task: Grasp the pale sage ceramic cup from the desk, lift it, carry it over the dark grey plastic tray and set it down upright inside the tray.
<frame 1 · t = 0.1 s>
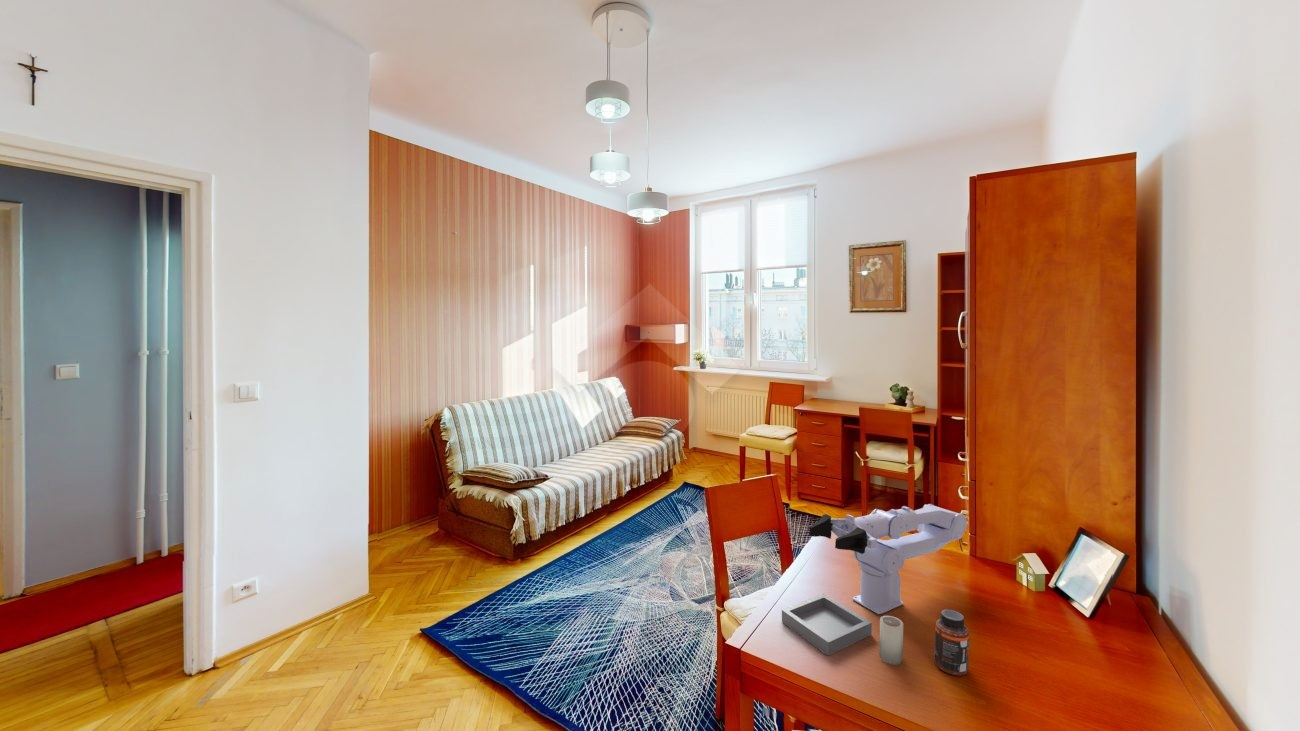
hand: (823, 537, 114), 22 cm above the table, tool horizontal, fingers open, 7 cm apart
supplement bottle: (950, 668, 102), on the table
cup: (890, 657, 105), on the table
tray: (825, 628, 115), on the table
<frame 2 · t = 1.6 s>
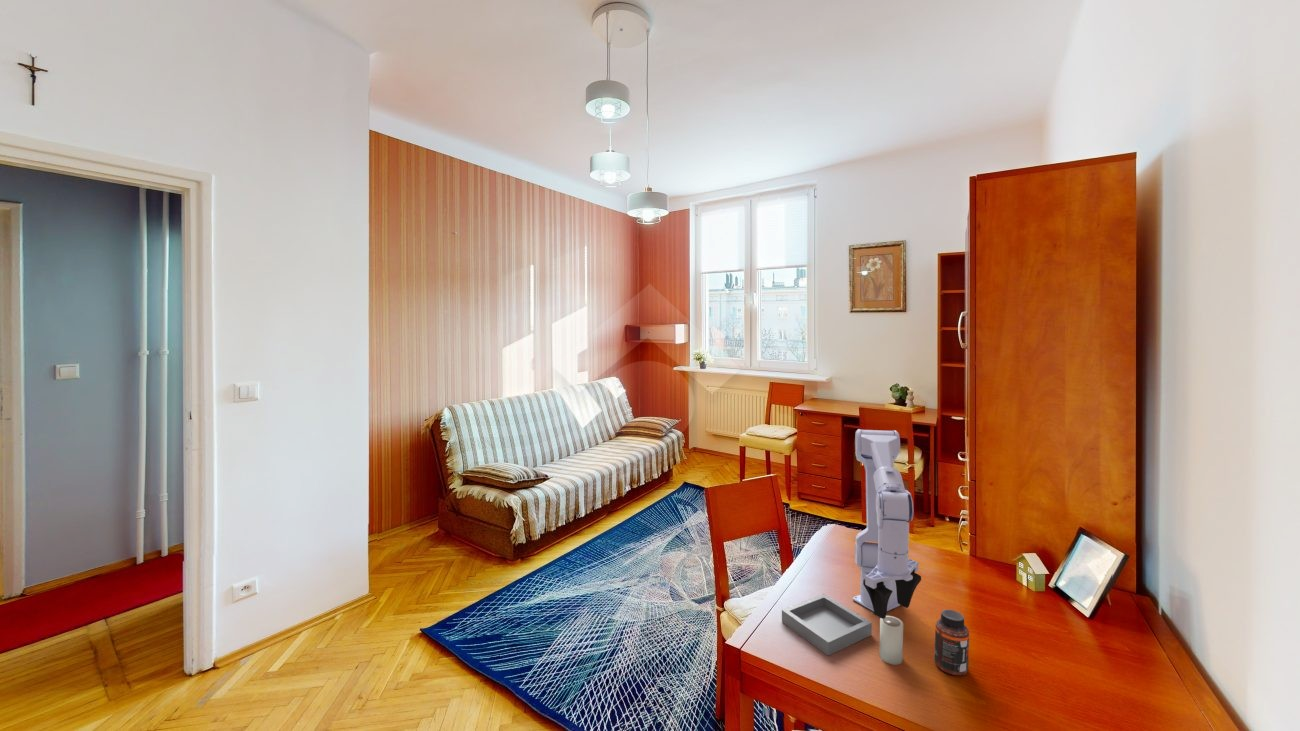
hand: (891, 610, 104), 10 cm above the table, tool pointing down, fingers open, 7 cm apart
nothing on the table moved.
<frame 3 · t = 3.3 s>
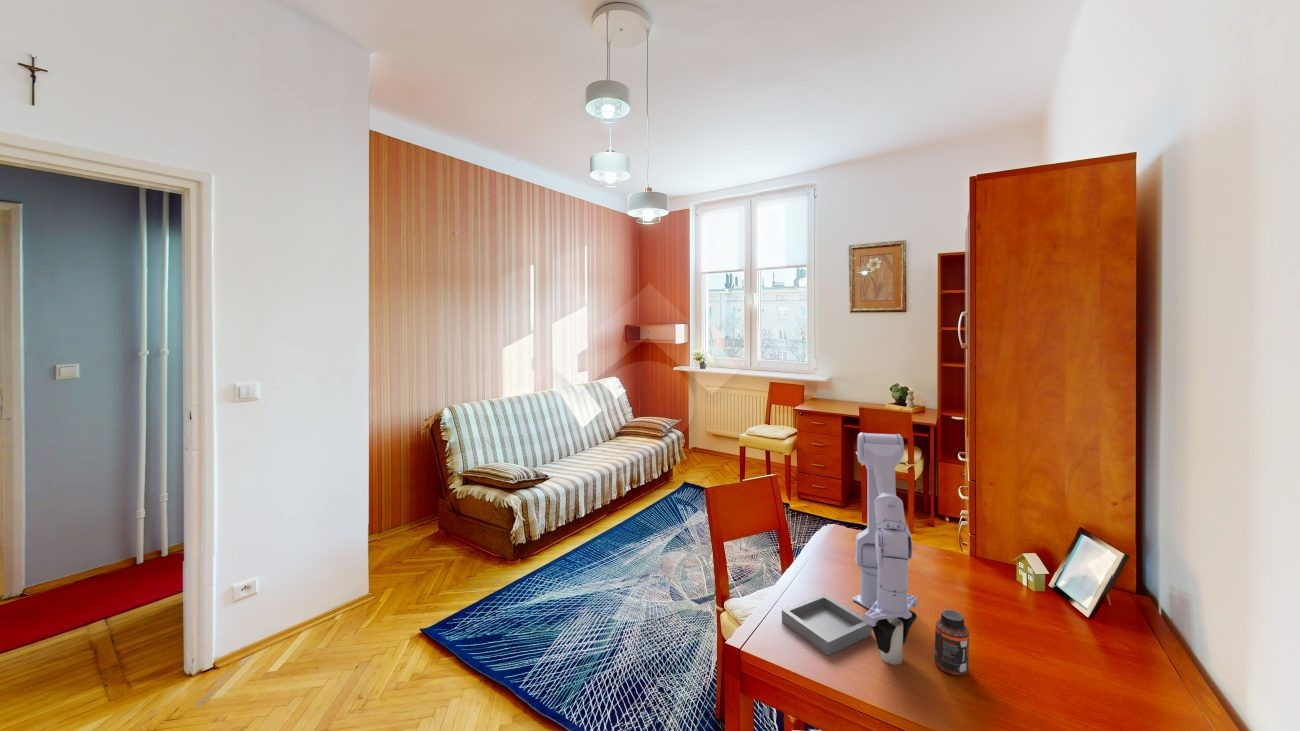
hand: (891, 646, 105), 2 cm above the table, tool pointing down, fingers closed on cup, 4 cm apart
cup: (890, 657, 105), on the table, touching gripper
everything else where it was.
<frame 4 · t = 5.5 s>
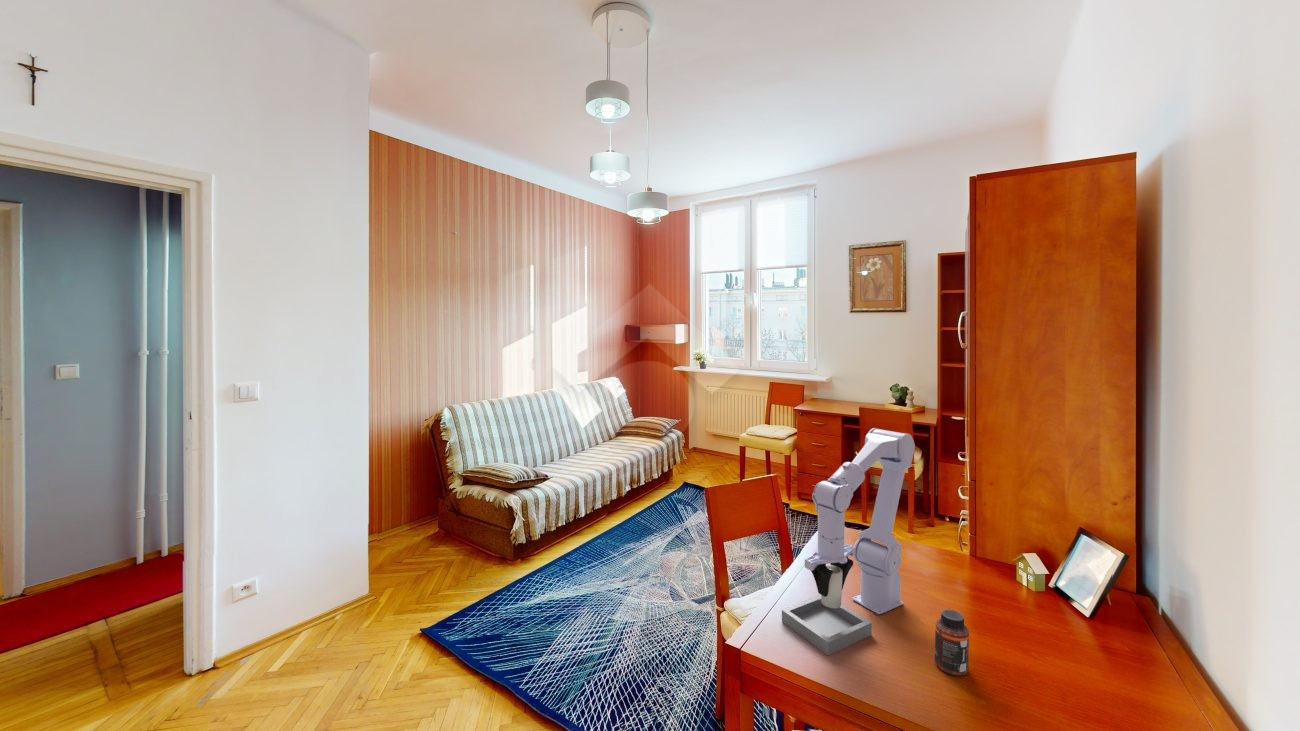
hand: (830, 591, 114), 9 cm above the table, tool pointing down, fingers closed on cup, 4 cm apart
cup: (830, 602, 114), point 7 cm above the table, touching gripper
everything else where it was.
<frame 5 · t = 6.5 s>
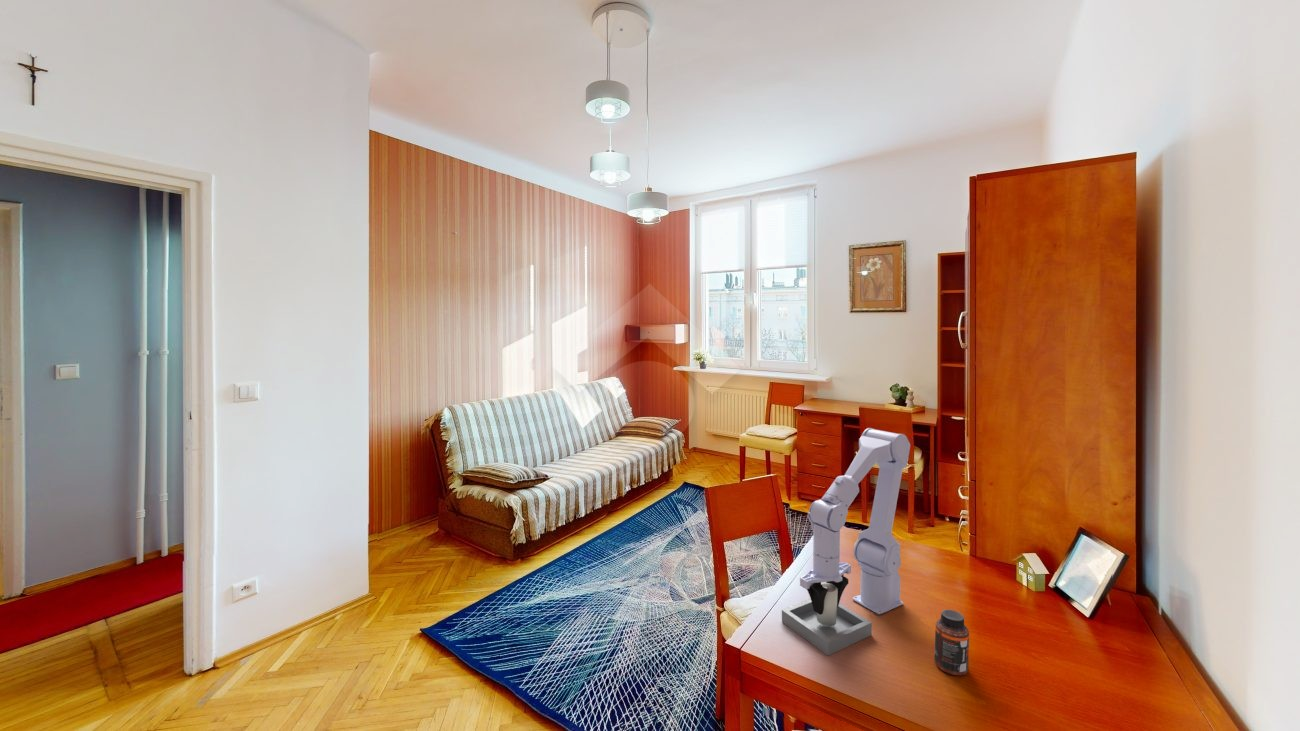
hand: (825, 609, 115), 5 cm above the table, tool pointing down, fingers closed on cup, 4 cm apart
cup: (826, 620, 115), point 2 cm above the table, touching gripper
everything else where it was.
when the fingers open (4 cm above the table, at t = 7.5 s): cup stays where it is, resting on tray.
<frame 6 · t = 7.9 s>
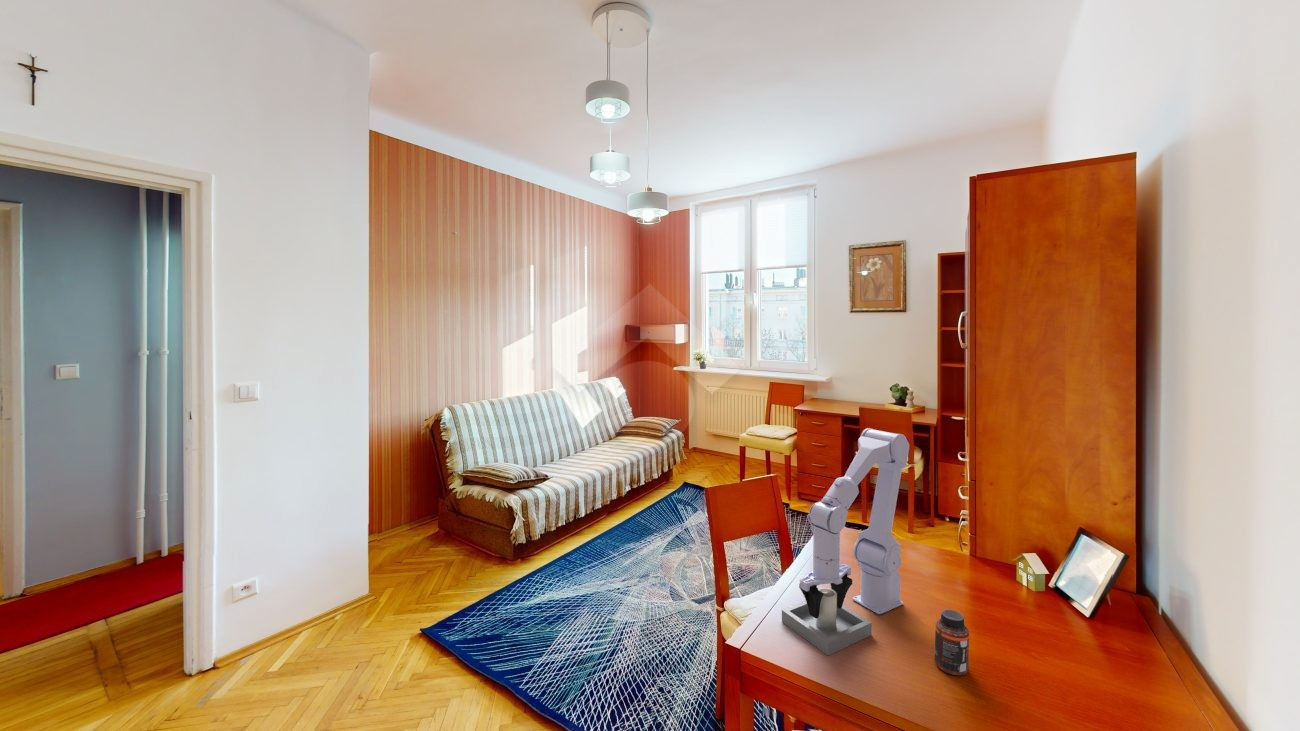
hand: (825, 611, 115), 4 cm above the table, tool pointing down, fingers open, 7 cm apart
cup: (826, 625, 115), point 1 cm above the table, touching tray
everything else where it was.
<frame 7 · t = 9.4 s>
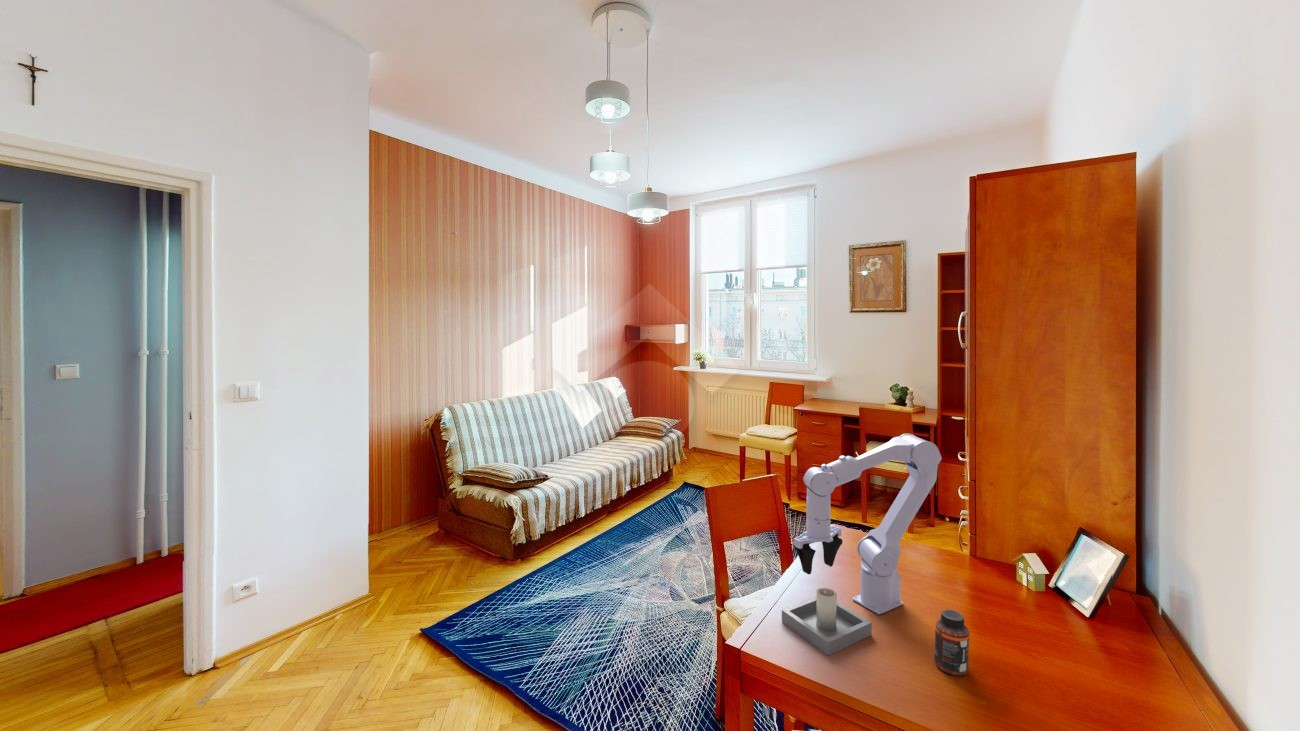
hand: (817, 568, 124), 9 cm above the table, tool pointing down, fingers open, 7 cm apart
nothing on the table moved.
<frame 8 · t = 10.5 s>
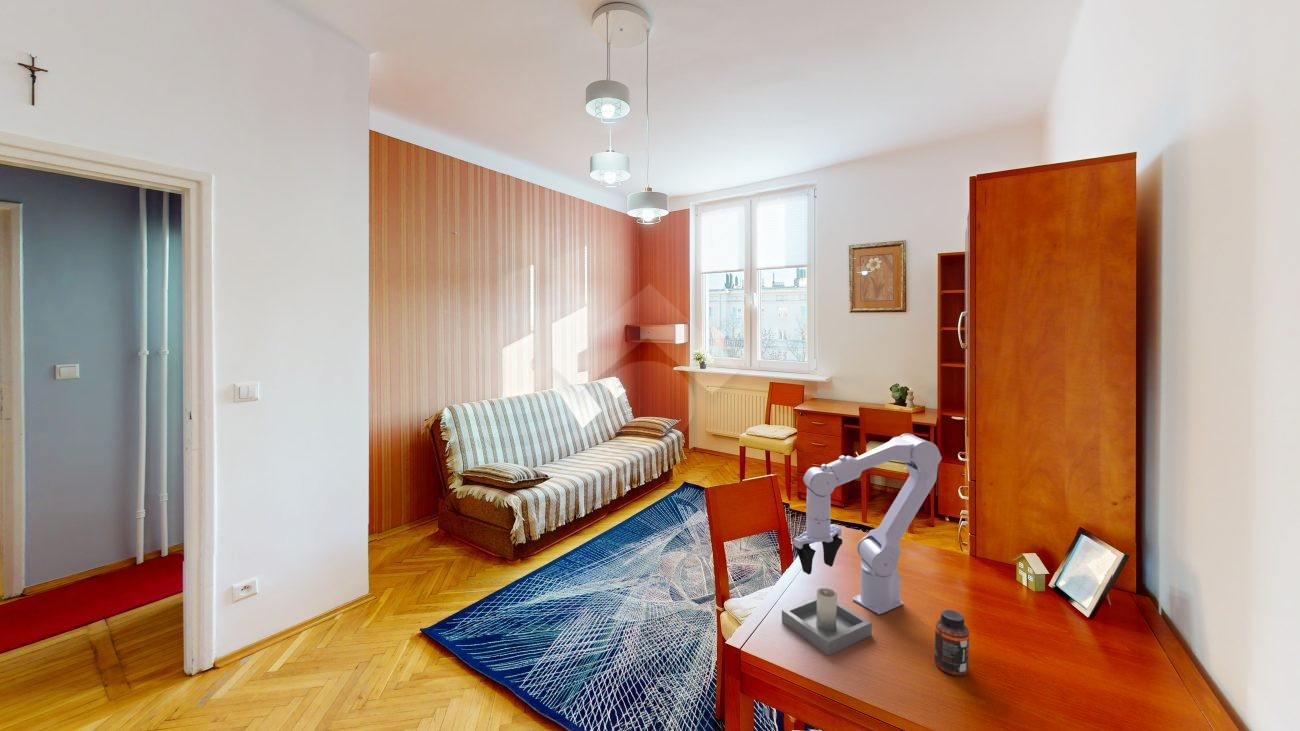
hand: (817, 568, 124), 9 cm above the table, tool pointing down, fingers open, 7 cm apart
nothing on the table moved.
at the end: cup inside the target area on the tray (0.2 cm from its centre), point 0.8 cm above the tray's base; cup tilted 1°; the gripper is holding nothing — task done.
